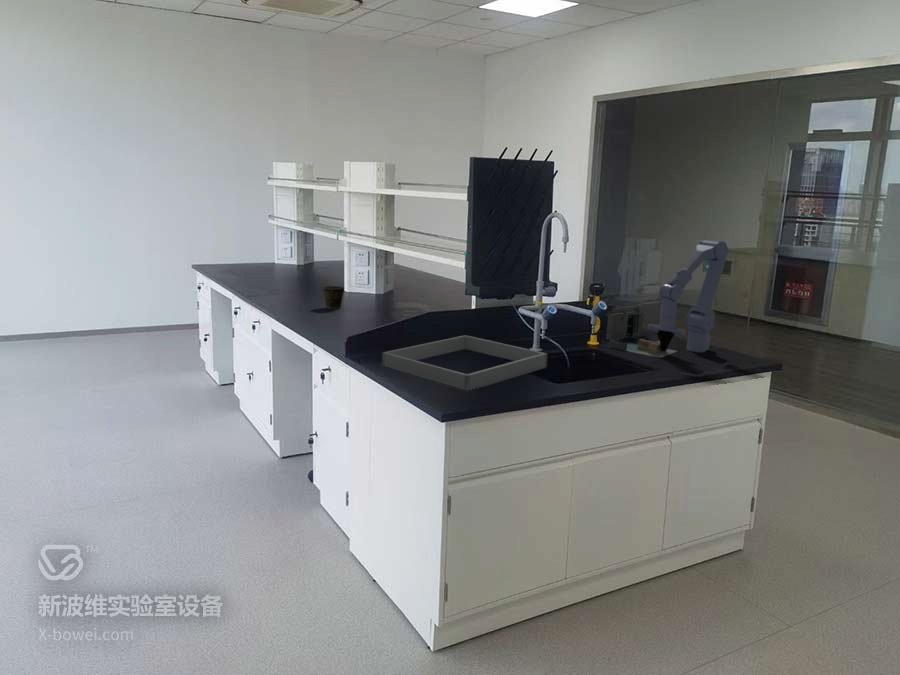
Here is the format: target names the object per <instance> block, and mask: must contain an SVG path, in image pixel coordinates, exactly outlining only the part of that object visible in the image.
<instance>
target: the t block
mask: <svg viewBox="0 0 900 675" xmlns="http://www.w3.org/2000/svg"><path fill="white" fill-rule="evenodd" d="M637 349H641V350H645V351H648V353H651V354H658V353H661V352H664V351H661V344H660V340H657V341H653V340H648V339H645V338H642V339H640V340H638V345H637Z"/></svg>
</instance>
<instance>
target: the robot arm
mask: <svg viewBox="0 0 900 675" xmlns="http://www.w3.org/2000/svg"><path fill="white" fill-rule="evenodd" d="M729 250H730V249H729V247H728V245H727V243H726V242H725V241H722V240H720V241H719V240H711V239H706V238H703V239H701V240H700V241H699V242H698V244H697V245H696V246H695V252H694V254H693V255H692V256H691V258H690V259H689V261H688V262H687V263H686V265H685V266H684V268H679V269H678V270H676V273H675V274H674V275H673V277H671V279H670V280H669V281H668V283H665V284H663V285H662V286H661V287H660V289H659V290H658V295H659V298H660V299H659V300H660V304H661V305H660V311H659V312H660V313H659V322H658V324H654V323H648V324H647V327H646V329H647V330H649V331H650V330H652V331H657V333H656V335H657V337H658V339H659V340H658V341H660V344H661V351H667V349H669V348H668V347H669V345H670V343H671V341H672V339H673V337H675V335H680V336H682V337H683V336H686V334H687V333H688V334H687V343H686V350H687V351H690V352H692V353H693V352H694V353H705V352H707V351H709V350H710V342H711V334H710V331H711V330H712V329H713V327H714V325H715V317H716V316H715V315H716V313H715V312H714V310H713V309H712V306H713V302H714V299H715V296H716V292H717V290H718V288H719V284H720V279H721V277H722V274H723V271H724V267H725V265H726V264H725V262H726V259H727V257H728V253H729ZM704 261H705V262H706V263H707V265H708V267H707V270H706V274H705V277H704V280H703V284H702V285H701V286H702V287H701V289H700V293H699V296H698V299H697V303H696V304H695V305H693V306H692V307H690V309H689V312H688V313H687V315H686V316H685V320H684V321H685V324H686V326H687V330H688V332H687V330H686V329H682V328H678V327H676V318H677V317H676V316H677V310H678V309H677V308H678V300H680V299H681V297H682V296H683V292H684V290H685V287H686V286H687V285H688V284H689V283H690V282H691V280H692V279H693V278H692V276H693V275H692V274H693V273H694V272H695V271H696V270H697V269H698V267H700V266H701V264H703V262H704Z"/></svg>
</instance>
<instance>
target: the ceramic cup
mask: <svg viewBox="0 0 900 675" xmlns="http://www.w3.org/2000/svg"><path fill="white" fill-rule="evenodd" d="M322 289H323V290H322V291H323V295H324V299H325V300H324V301H325V306H326V309H328V310H340V309H341V308H342V302H343V296H344V291H345V286H344V287H343V286H340V285H339V286H336V285H330V286H323V288H322Z"/></svg>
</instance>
